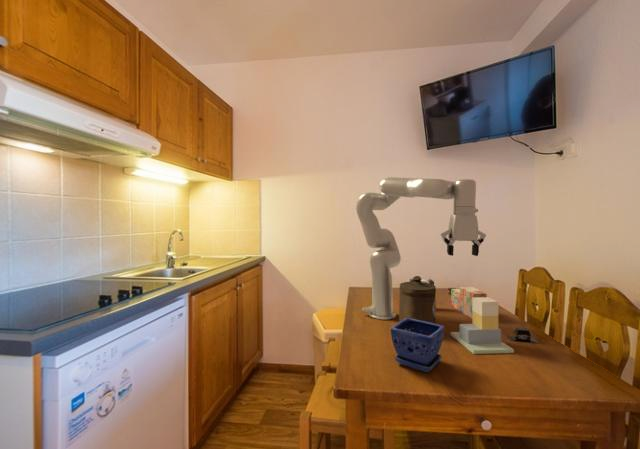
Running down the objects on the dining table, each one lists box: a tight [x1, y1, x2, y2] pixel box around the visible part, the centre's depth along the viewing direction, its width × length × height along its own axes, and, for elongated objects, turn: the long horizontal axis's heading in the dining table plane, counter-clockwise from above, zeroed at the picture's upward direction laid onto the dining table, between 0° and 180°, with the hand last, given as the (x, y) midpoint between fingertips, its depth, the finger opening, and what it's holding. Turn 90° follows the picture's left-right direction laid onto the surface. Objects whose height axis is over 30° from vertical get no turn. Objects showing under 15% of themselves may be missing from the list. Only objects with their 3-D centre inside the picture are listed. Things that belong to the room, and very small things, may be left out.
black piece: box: [505, 326, 540, 344], centre depth 108 cm, size 12×7×5 cm, turn 73°
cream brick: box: [472, 296, 499, 317], centre depth 105 cm, size 6×6×5 cm
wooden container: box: [398, 275, 437, 335], centre depth 121 cm, size 15×15×22 cm
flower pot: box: [390, 318, 445, 373], centre depth 91 cm, size 13×13×12 cm
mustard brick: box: [472, 311, 499, 330], centre depth 105 cm, size 6×6×5 cm
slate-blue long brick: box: [459, 323, 502, 344], centre depth 105 cm, size 12×6×5 cm, turn 92°
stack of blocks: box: [450, 286, 488, 320], centre depth 141 cm, size 21×6×12 cm, turn 2°
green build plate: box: [450, 331, 515, 355], centre depth 105 cm, size 14×16×1 cm
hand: (462, 255), depth 111 cm, fingers open, 9 cm apart
